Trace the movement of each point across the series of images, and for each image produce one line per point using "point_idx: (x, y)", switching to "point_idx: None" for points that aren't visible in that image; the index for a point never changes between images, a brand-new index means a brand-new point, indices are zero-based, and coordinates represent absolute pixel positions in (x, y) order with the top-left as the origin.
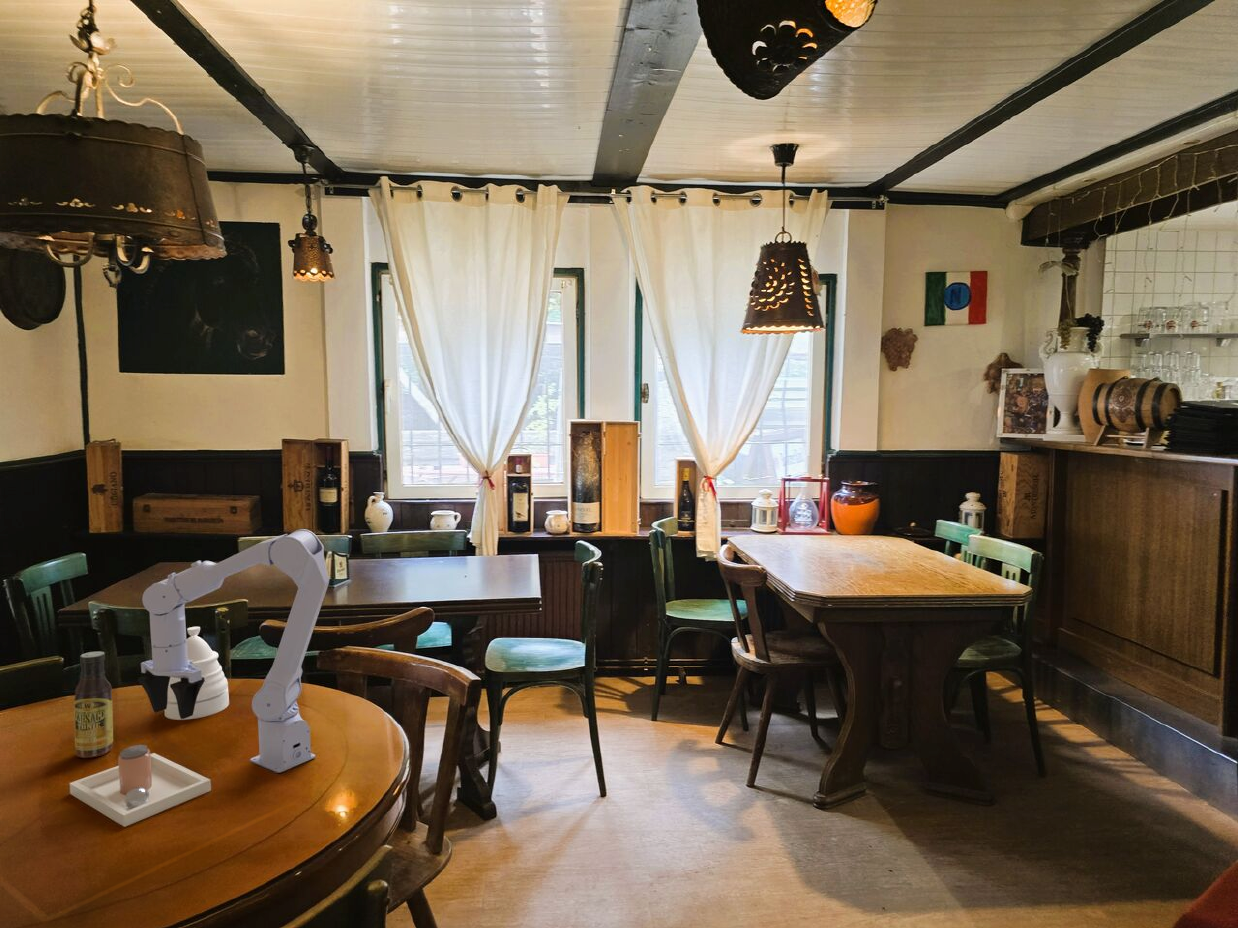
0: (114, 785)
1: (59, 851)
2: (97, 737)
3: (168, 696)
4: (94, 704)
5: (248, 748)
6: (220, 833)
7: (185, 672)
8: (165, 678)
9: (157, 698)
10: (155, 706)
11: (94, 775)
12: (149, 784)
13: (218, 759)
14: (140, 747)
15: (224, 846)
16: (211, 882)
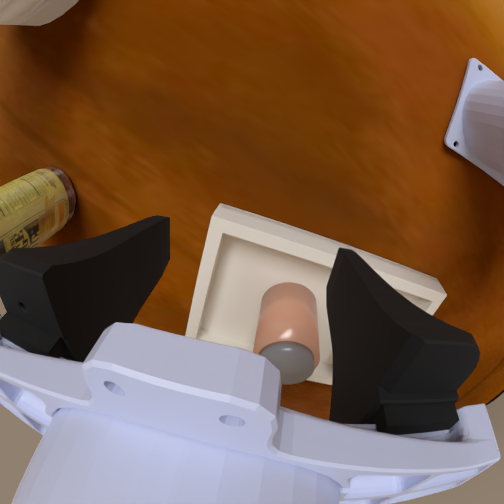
0: (234, 303)
1: (317, 405)
2: (53, 225)
3: (7, 21)
4: None
5: (387, 66)
6: (481, 346)
7: (415, 496)
8: (84, 294)
9: (143, 282)
10: (159, 274)
11: (194, 321)
12: (316, 305)
13: (357, 137)
14: (291, 359)
15: (489, 358)
16: (487, 387)
